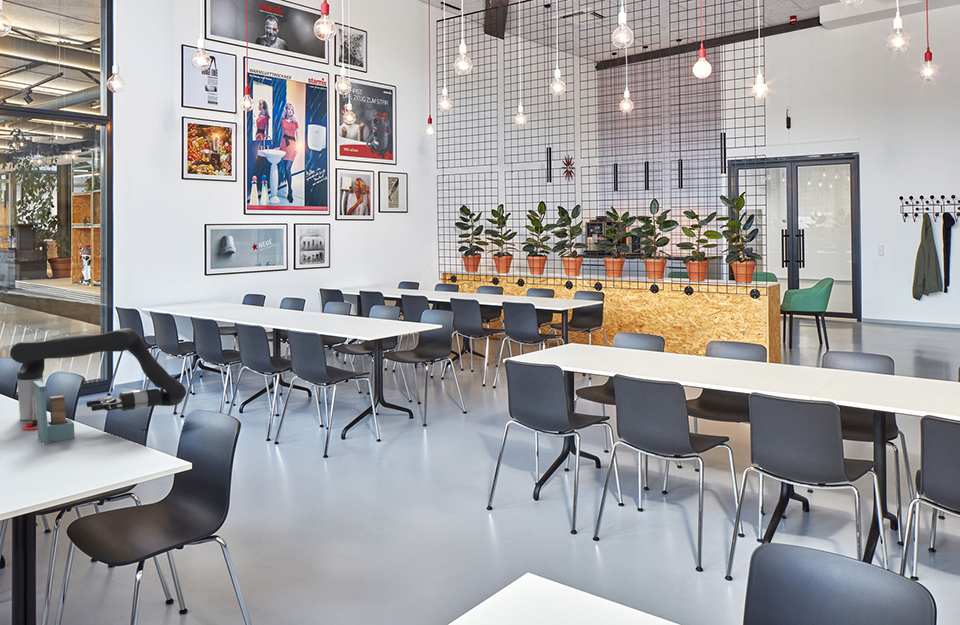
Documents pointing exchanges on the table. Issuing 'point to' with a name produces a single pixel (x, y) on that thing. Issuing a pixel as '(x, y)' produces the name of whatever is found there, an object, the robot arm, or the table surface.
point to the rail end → (57, 410)
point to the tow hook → (34, 420)
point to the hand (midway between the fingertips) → (89, 406)
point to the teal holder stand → (45, 428)
